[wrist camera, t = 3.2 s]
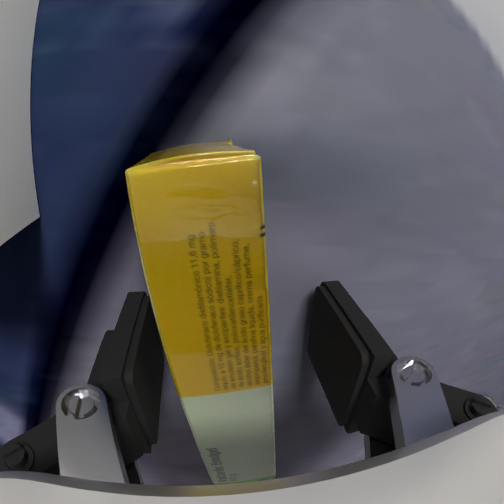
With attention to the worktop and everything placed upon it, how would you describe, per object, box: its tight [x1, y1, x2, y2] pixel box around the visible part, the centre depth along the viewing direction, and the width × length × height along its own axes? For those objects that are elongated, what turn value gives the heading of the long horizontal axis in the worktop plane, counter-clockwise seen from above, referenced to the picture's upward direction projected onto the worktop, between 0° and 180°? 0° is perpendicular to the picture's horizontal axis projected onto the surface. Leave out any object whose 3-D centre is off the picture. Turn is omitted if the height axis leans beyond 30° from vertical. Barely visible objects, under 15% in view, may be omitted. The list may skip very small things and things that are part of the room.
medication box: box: [125, 139, 276, 485], centre depth 9 cm, size 12×3×4 cm, turn 4°
